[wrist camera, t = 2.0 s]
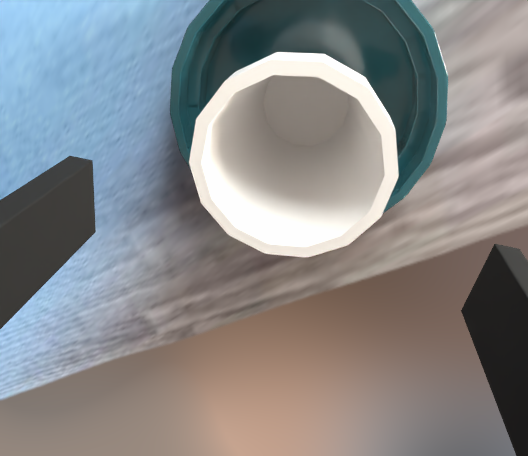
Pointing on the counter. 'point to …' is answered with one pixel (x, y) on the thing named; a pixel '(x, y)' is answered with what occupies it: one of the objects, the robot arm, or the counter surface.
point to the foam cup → (295, 155)
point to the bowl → (333, 45)
